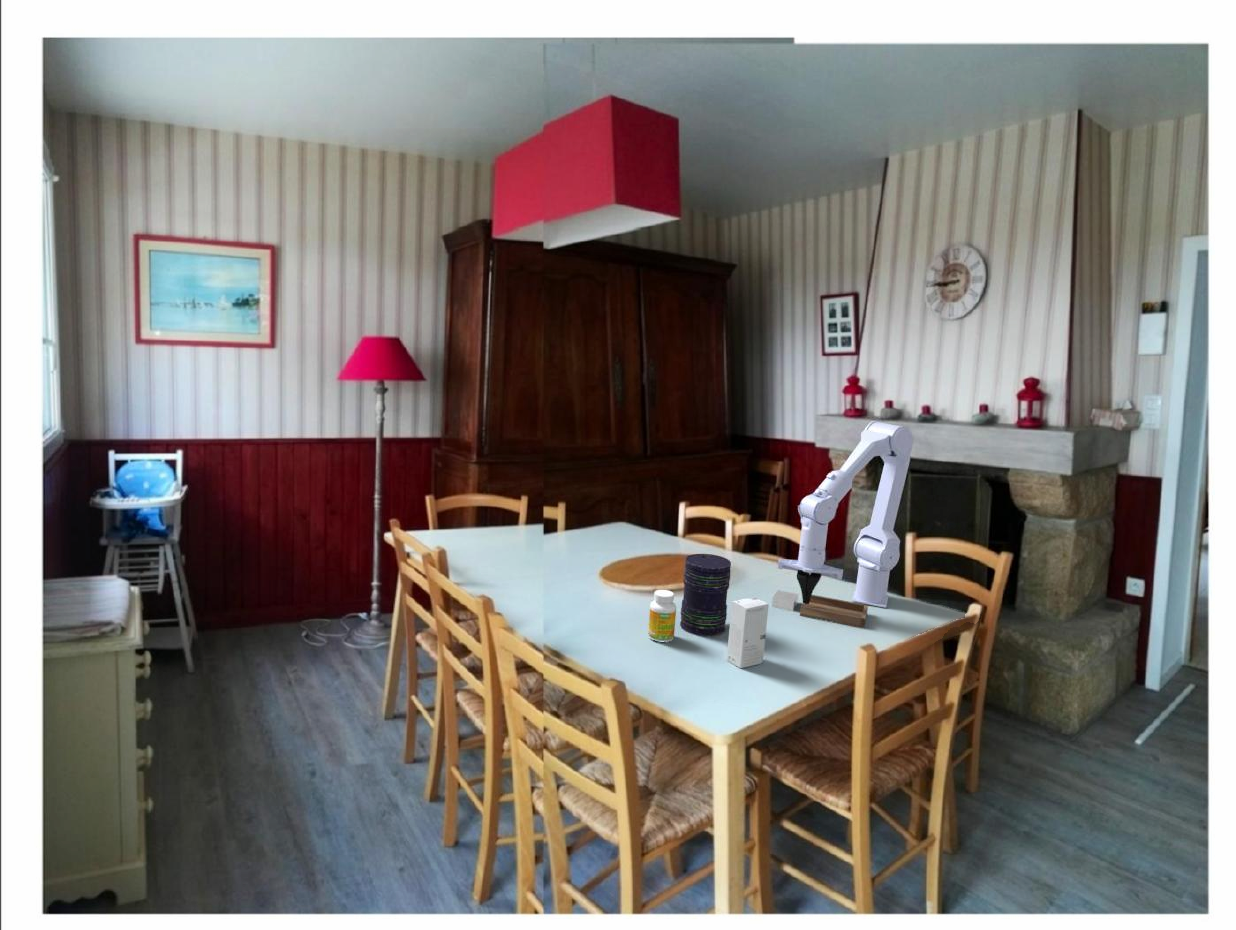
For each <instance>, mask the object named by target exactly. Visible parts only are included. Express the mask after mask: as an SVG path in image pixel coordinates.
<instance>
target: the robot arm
mask: <svg viewBox="0 0 1236 930" xmlns="http://www.w3.org/2000/svg"><path fill="white" fill-rule="evenodd" d="M914 441H915V436H914V435H913V433H912V431H911V430H910V428H909V427H908V426H905V425H896V424H891V423H886V422H881V421H879V420H873V421H871V422H869V423H868V424H867V425H866V427H865V428H864V430H862V431H861V433H860V442H859V443H858V444H857V445H856V447H855V448H854V449H853V451H852V452H851V454H850V455H849V457H848V458H847V459H846V460H845V462H844V463H843V465H842V466H841V467H840V469H837V470H832V471H830V472H829V473H828V474H827V475H826V478H825V479H824V480H823V481H822V482H821V484H820V485H819V486H818V487H817V488H816V489H815V491H814V492H813V493H811V494H809V495H806V496H805V497H804V498H802V499H801V501H800V504H799V505H797V510H798V511H797V512H798V514H799V516H800V523H801V532H800V539H799V540H800V541H799V551H798V557H797V559H786V558H785V559H784V558H779V560H778V563H777V569H779V570H790V571H795V572H796V579H797V582H798V585H799V587H800V591H801V597H802V604H803V605H804V604H809V602H810V598H811V595H813V593H814V590H815V588H816V586H817V585H818V583H819V582H820V580H821V577H822V576H823V577H829V578H833V579H836V580H840V581H841V580H842V579H843V574H844V569H843V568H838V567H835V566H830V565H827V564H824V562H825V552H826V547H827V546H826V544H827V535H828V529H829V528H828V527H829V523H830V522H832V520H834V519H835V517H836V514H837V509H838V507H839V503H840V502H841V500H842V499H844V497H845V496H846V495H847V493H848V492H850V490H851V489H852V487H853V479H854V477H855V476H857V475H858V474H859V473H860V472H861V470H862V469H863V468H865V467H866V465H868V463H869V462H870V461H871V460H873V458H874V457H879V456H880V458H881V459H882V461H883V464H884V465H883V468H882V473H881V477H880V482H879V485H878V489H877V494H876V496H875V497H876V498H875V500H874V506H873V509H872V515H871V519H870V522H869V524H868V525H867V526H864V528H862V529H860V533H859V535H858V537H857V539H855V540H856V541H855V542H854V545H853V553H854V555H855V557H856V558H857V559H856V560H857V561H856V562H857V563H858V569H857V570H858V572H857V576H856V577H857V578H856V586H855V589H854V592H853V594H852V595H853V596H852V600H851V602H854V603H859V604H865V605H868V606H875V607H880V608H884V609H885V608H887V607H888V600H889V594H888V587H889V586H888V585H889V578H890V572H891V570H893V568H894V567H896V565H897V564H898V562H899V559H900V556H901V555H900V543H901V539H900V537H898V535H897V534H896V532H895V531H894V528H895V523H896V519H897V515H898V512H899V508H900V502H901V498H902V494H903V491H904V486H905V482H906V479H907V473H908V470H909V465H910V462H911V452H912V449H913V445H914Z"/></svg>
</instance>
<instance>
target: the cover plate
mask: <svg viewBox="0 0 1236 930" xmlns="http://www.w3.org/2000/svg"><path fill="white" fill-rule="evenodd" d="M799 595H800V594H799V593H794V592H788V591H783V590H777V591H775V593H774V595H773V597H772V598H771V599H772V600H771V607H772V608H778V609H782V610H786V611H792V612H794V610H795V608H796V607H795V606H797V605H798V603H799Z"/></svg>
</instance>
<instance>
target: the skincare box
mask: <svg viewBox="0 0 1236 930" xmlns="http://www.w3.org/2000/svg"><path fill="white" fill-rule="evenodd" d="M768 614H769V603H768V602H766V601H763V600H761V599H759V598H756V597H750V598H742V599H739V600H733V601H731V612H730V621H729V631H728V641H727V642H728V643H727V653H726V661H728V662H729V663H730V664H732V665H734V666H735V667H737V668H739V669H743V668H748V667H753V666H756V665H761V664H762V663H763V661H764V656H765V655H764V653H765V644H766V635H767V634H766V632H767V622H768Z"/></svg>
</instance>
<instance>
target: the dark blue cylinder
mask: <svg viewBox="0 0 1236 930" xmlns="http://www.w3.org/2000/svg"><path fill="white" fill-rule="evenodd" d="M684 563H685V564H684V570H683V587H684V588H683V599H682V601H681V607H680V619H681V620H680V622H679V626H681V627H680V629H682V630H683V631H684V632H687V633H688V634H691V635H695V636H700V637H716V636H719V635H722V634H723V633H725V631H726V625H725V624H726V621H727V617H728V613H727V610H728V604H727V598H728V590H729V588H730V581H731V567H732V562H731V560H730V559H728V558H726V557H724V556H721V555H718V554H717V555H716V554H710V553H693V554H690V555H687V556H686V557H685V561H684Z"/></svg>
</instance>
